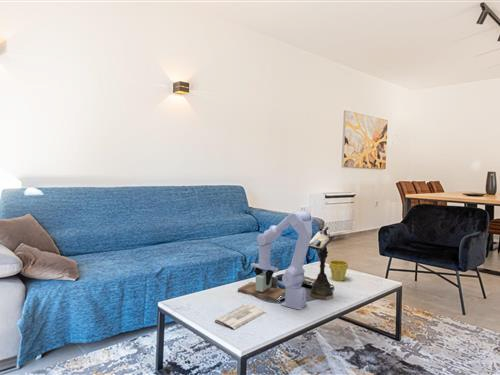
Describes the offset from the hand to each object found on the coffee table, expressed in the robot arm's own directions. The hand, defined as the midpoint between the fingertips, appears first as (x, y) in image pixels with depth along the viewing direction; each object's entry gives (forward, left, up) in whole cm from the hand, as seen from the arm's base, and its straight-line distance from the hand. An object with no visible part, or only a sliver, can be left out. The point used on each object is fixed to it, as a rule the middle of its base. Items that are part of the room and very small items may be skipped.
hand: (263, 283), depth 180 cm
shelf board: (+1, -1, -5) cm, 5 cm away
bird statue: (-25, -12, -5) cm, 28 cm away
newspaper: (-5, +29, -6) cm, 30 cm away
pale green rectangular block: (0, 0, -2) cm, 2 cm away
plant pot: (-24, -44, -5) cm, 50 cm away
